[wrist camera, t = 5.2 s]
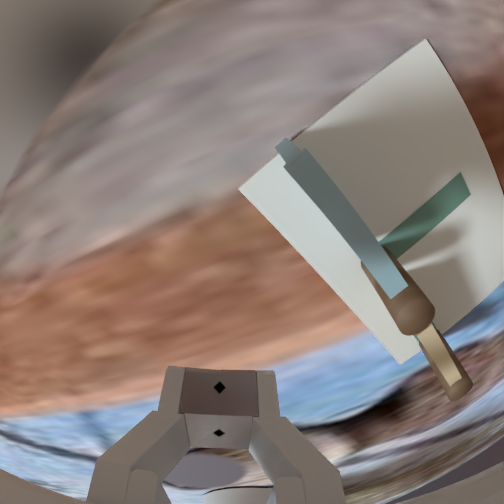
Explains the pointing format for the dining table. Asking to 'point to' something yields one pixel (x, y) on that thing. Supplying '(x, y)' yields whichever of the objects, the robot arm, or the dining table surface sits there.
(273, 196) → the card
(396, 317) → the pine fence section
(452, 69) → the dining table surface
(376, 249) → the light blue rectangular panel
